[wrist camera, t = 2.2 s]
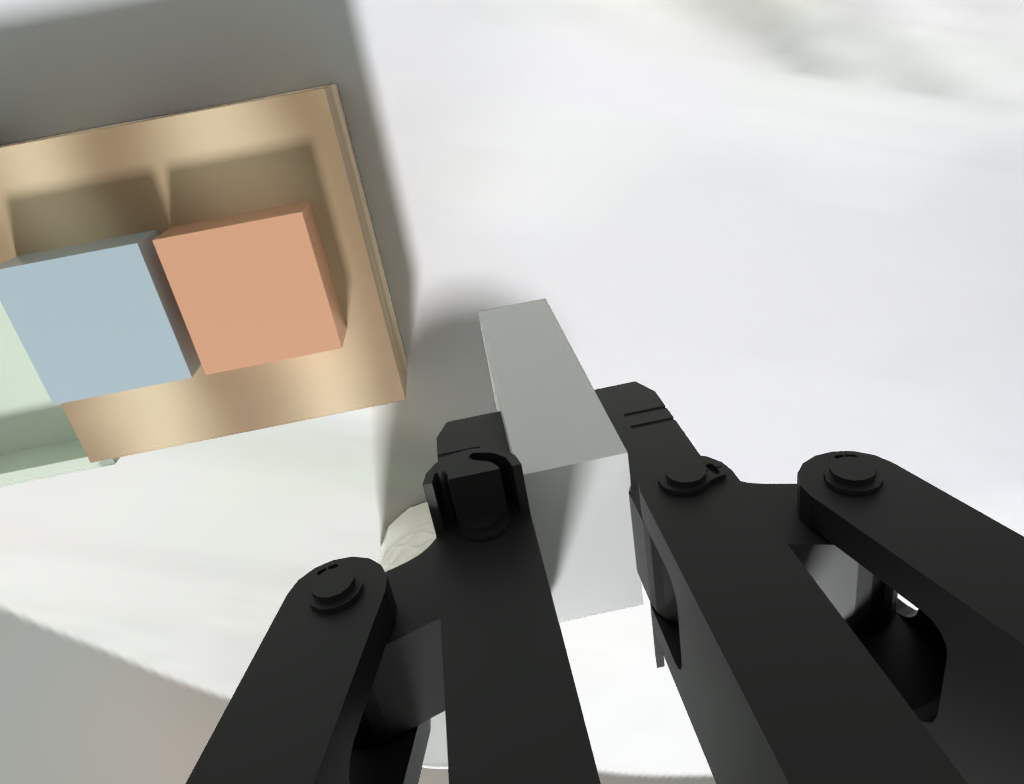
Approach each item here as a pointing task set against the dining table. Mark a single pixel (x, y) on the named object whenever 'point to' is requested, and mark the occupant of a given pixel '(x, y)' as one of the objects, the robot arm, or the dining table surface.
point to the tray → (32, 420)
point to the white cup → (397, 548)
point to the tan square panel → (203, 196)
